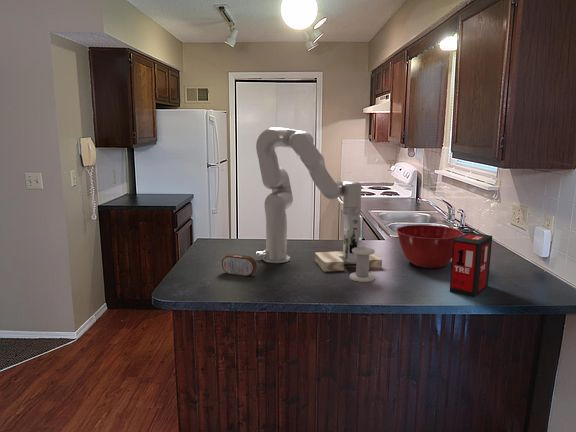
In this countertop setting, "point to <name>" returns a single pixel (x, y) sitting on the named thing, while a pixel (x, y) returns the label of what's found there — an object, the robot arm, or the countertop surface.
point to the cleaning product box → (470, 264)
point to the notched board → (341, 261)
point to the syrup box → (348, 248)
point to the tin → (239, 265)
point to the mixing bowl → (428, 244)
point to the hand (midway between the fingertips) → (350, 250)
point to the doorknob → (362, 265)
